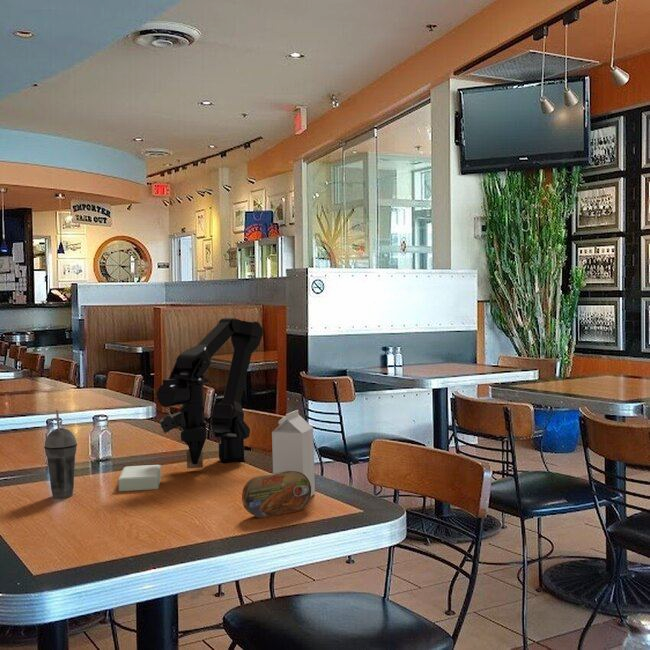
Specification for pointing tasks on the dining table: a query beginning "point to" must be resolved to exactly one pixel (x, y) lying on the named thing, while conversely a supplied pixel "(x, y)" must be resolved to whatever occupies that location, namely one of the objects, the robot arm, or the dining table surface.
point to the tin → (276, 494)
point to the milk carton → (294, 447)
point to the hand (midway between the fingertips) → (194, 462)
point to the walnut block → (190, 464)
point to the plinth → (140, 478)
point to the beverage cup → (61, 460)
